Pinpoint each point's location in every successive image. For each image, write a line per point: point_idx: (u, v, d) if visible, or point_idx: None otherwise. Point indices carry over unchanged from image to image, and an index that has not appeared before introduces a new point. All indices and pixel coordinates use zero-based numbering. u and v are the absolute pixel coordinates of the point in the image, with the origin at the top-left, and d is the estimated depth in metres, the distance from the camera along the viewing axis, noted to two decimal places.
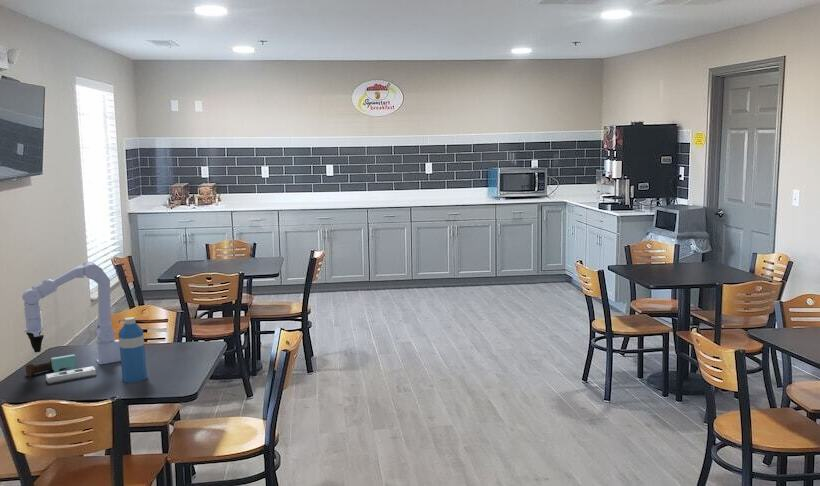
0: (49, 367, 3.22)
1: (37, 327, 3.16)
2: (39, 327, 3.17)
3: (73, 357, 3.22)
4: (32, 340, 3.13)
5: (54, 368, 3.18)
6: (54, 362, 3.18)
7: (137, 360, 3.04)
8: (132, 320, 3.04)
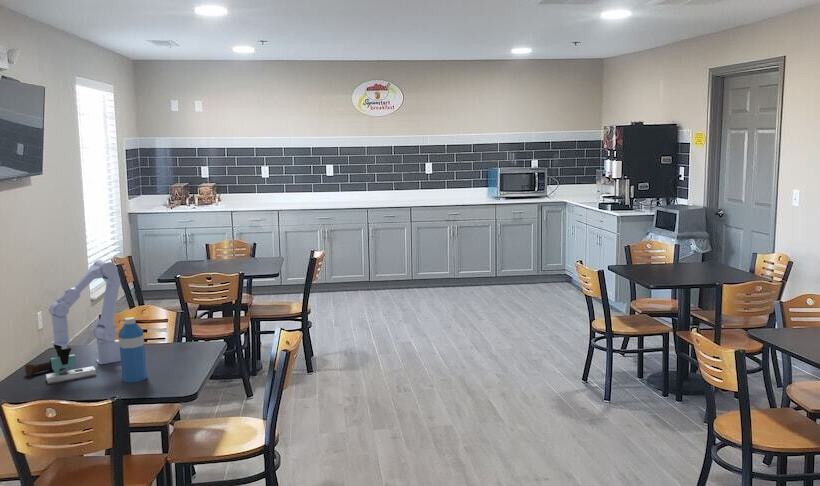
0: (48, 367, 3.22)
1: (65, 340, 3.18)
2: (66, 340, 3.19)
3: (73, 357, 3.22)
4: (60, 353, 3.15)
5: (54, 368, 3.18)
6: (54, 362, 3.18)
7: (137, 360, 3.04)
8: (132, 320, 3.04)
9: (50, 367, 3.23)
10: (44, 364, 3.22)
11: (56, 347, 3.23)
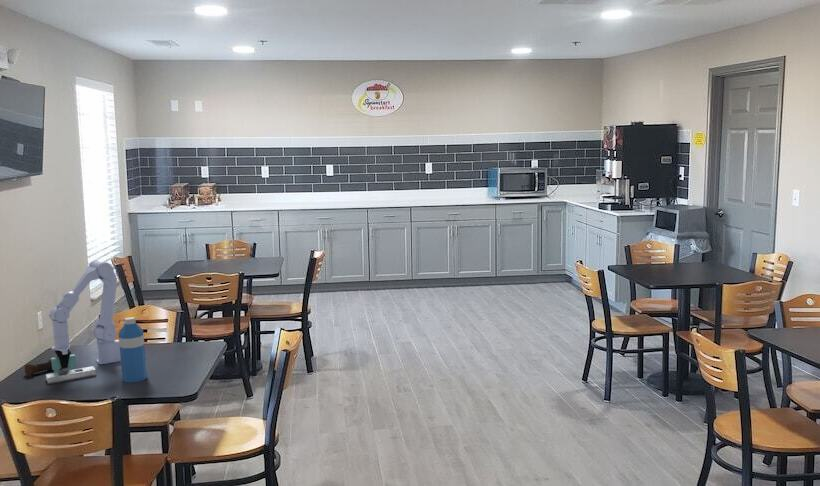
0: (48, 367, 3.23)
1: (65, 345, 3.18)
2: (67, 345, 3.19)
3: (73, 357, 3.22)
4: (60, 356, 3.17)
5: (54, 368, 3.18)
6: (54, 362, 3.18)
7: (137, 360, 3.04)
8: (132, 320, 3.04)
9: (49, 367, 3.23)
10: (43, 364, 3.22)
11: None
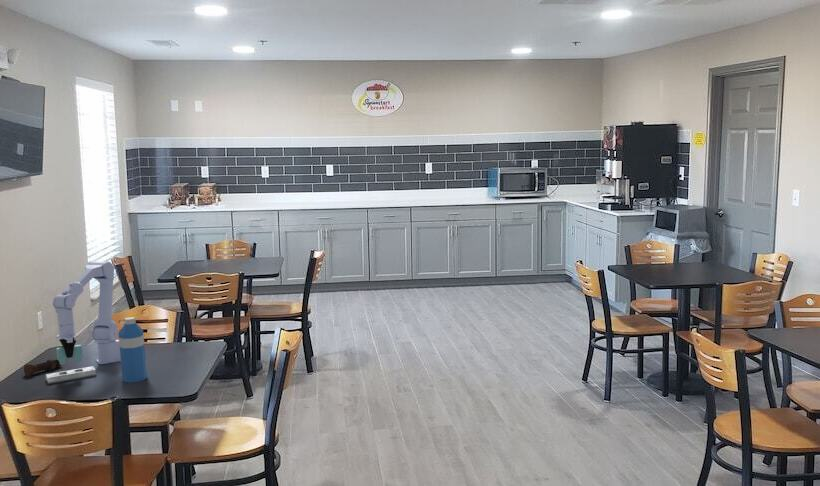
0: (47, 366, 3.23)
1: (70, 333, 3.09)
2: (72, 333, 3.10)
3: (79, 347, 3.13)
4: (64, 345, 3.08)
5: (59, 358, 3.09)
6: (59, 352, 3.09)
7: (137, 360, 3.04)
8: (132, 320, 3.04)
9: (48, 367, 3.24)
10: (42, 364, 3.22)
11: None
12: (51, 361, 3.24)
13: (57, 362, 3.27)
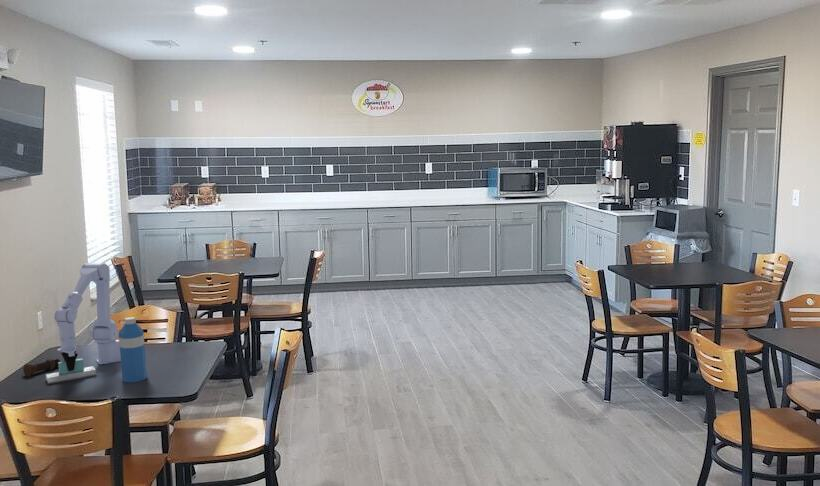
0: (46, 366, 3.23)
1: (72, 346, 3.09)
2: (74, 346, 3.10)
3: (81, 361, 3.13)
4: (66, 359, 3.08)
5: (61, 372, 3.10)
6: (61, 366, 3.09)
7: (137, 360, 3.04)
8: (132, 320, 3.04)
9: (48, 366, 3.24)
10: (42, 364, 3.22)
11: None
12: (50, 361, 3.25)
13: (56, 362, 3.27)
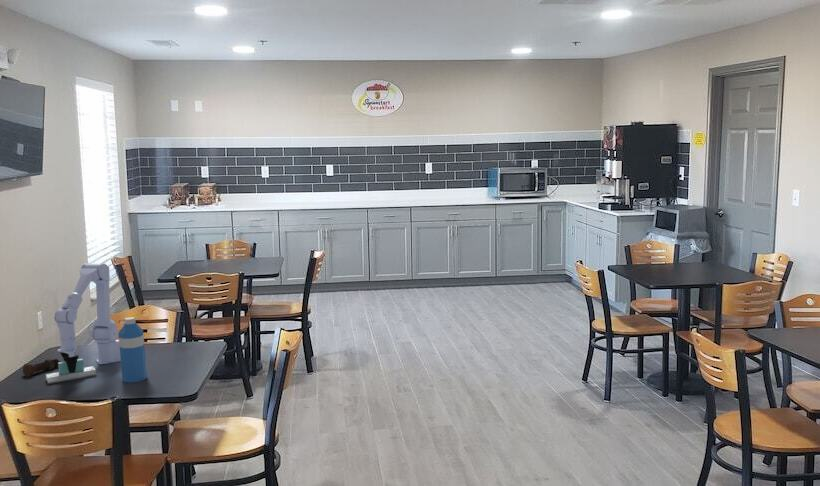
0: (46, 366, 3.24)
1: (72, 347, 3.09)
2: (74, 347, 3.10)
3: (81, 361, 3.13)
4: (67, 360, 3.06)
5: (61, 373, 3.10)
6: (61, 366, 3.09)
7: (137, 360, 3.04)
8: (132, 320, 3.04)
9: (47, 366, 3.24)
10: (41, 364, 3.23)
11: (63, 354, 3.14)
12: (49, 361, 3.25)
13: (55, 362, 3.28)
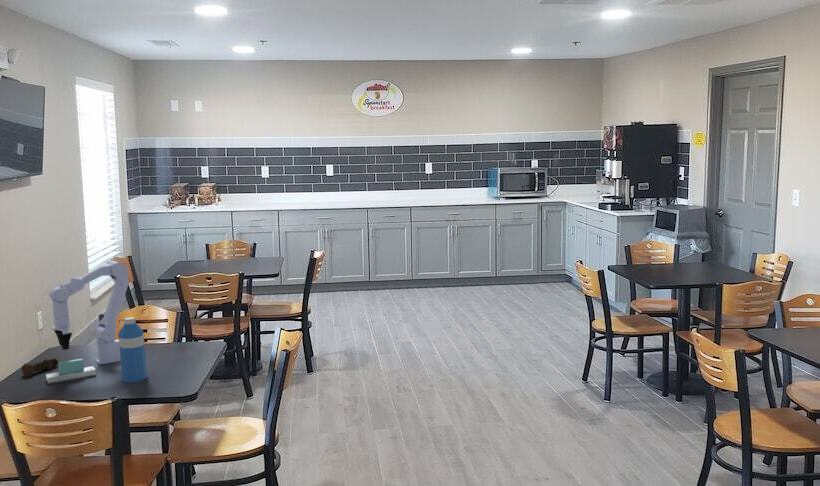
0: (45, 366, 3.24)
1: (65, 325, 3.19)
2: (67, 325, 3.20)
3: (81, 361, 3.13)
4: (61, 337, 3.16)
5: (61, 373, 3.10)
6: (61, 366, 3.09)
7: (137, 360, 3.04)
8: (132, 320, 3.04)
9: (46, 366, 3.24)
10: (40, 363, 3.23)
11: (57, 332, 3.24)
12: (48, 361, 3.25)
13: (53, 361, 3.28)
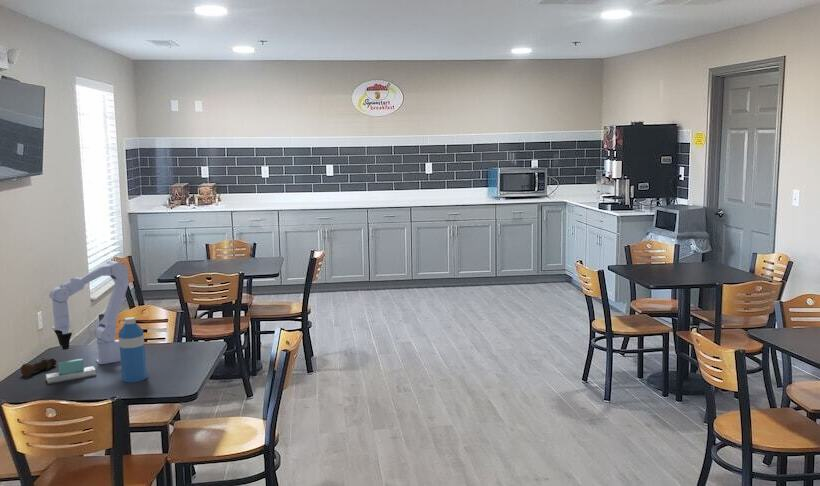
0: (43, 366, 3.24)
1: (65, 325, 3.19)
2: (67, 325, 3.20)
3: (81, 361, 3.13)
4: (60, 337, 3.16)
5: (61, 373, 3.10)
6: (61, 366, 3.09)
7: (137, 360, 3.04)
8: (132, 320, 3.04)
9: (44, 366, 3.25)
10: (39, 363, 3.23)
11: (57, 332, 3.24)
12: (47, 360, 3.26)
13: (52, 361, 3.28)
